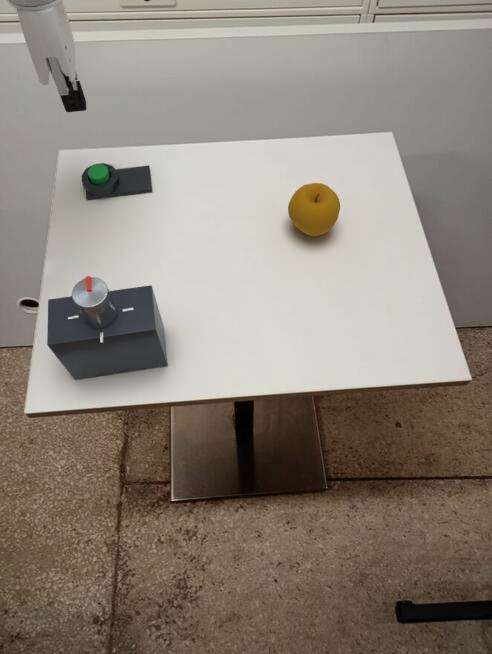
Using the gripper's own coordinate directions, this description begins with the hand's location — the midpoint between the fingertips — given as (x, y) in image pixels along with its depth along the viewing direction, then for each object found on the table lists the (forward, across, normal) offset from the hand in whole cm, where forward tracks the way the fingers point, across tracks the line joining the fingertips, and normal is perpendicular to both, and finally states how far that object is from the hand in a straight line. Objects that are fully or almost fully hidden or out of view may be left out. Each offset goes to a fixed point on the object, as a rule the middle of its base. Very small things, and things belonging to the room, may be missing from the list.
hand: (76, 107), depth 78 cm
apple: (+17, +16, +36) cm, 43 cm away
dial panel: (+17, +35, +1) cm, 39 cm away
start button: (+15, 0, 0) cm, 15 cm away
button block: (+17, 0, +3) cm, 17 cm away
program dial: (+5, +35, +1) cm, 35 cm away
